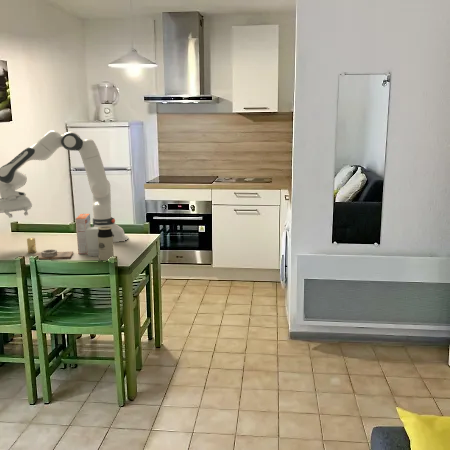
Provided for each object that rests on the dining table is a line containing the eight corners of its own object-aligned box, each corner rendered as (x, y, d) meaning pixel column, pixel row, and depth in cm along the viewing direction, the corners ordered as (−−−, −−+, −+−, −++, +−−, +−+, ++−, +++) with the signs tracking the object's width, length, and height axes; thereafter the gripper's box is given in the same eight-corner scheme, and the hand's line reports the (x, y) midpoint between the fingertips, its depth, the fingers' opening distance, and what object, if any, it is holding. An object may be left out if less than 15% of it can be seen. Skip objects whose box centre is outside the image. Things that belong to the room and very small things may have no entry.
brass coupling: (36, 251, 301) (35, 237, 299) (35, 253, 296) (34, 239, 295) (29, 251, 300) (27, 238, 298) (27, 253, 296) (26, 239, 294)
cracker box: (82, 247, 308) (80, 213, 303) (92, 247, 308) (90, 213, 304) (77, 254, 294) (75, 218, 290) (88, 254, 294) (86, 218, 290)
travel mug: (107, 256, 289) (106, 225, 285) (116, 259, 284) (115, 227, 280) (96, 259, 283) (94, 227, 279) (105, 262, 278) (103, 229, 274)
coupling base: (73, 253, 295) (72, 248, 295) (70, 258, 285) (69, 253, 284) (37, 254, 293) (36, 249, 292) (32, 260, 282) (32, 254, 281)
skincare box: (104, 252, 296) (102, 226, 293) (101, 256, 290) (100, 229, 287) (89, 253, 296) (88, 226, 293) (86, 256, 290) (85, 229, 286)
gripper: (-7, 196, 297) (2, 215, 293) (27, 192, 312) (36, 210, 308) (-9, 202, 301) (-1, 221, 297) (24, 198, 316) (33, 216, 311)
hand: (18, 215), depth 302 cm, fingers open, 8 cm apart
